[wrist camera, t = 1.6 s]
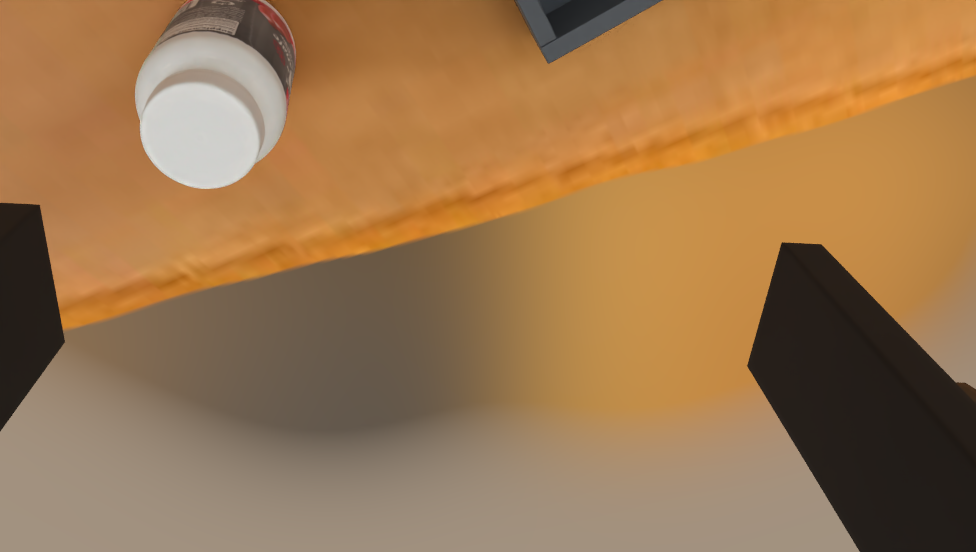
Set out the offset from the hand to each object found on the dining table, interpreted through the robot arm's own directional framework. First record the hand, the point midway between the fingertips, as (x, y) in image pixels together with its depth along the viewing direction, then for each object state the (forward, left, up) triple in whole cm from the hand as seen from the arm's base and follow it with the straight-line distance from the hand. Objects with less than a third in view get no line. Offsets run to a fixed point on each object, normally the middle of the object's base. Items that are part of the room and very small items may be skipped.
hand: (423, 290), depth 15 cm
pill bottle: (0, -8, -25) cm, 26 cm away
